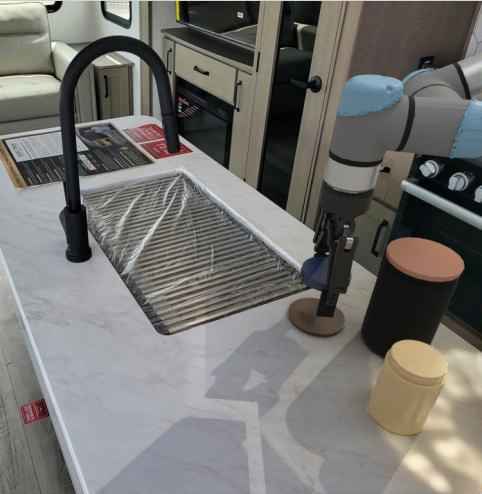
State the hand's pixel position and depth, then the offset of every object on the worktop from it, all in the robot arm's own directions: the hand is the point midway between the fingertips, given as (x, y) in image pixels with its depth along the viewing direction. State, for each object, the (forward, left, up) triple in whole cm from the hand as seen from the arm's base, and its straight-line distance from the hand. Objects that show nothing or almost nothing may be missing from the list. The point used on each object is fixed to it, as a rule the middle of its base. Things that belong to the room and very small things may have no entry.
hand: (319, 298), depth 85 cm
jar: (-8, +20, -4) cm, 22 cm away
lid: (0, 0, +6) cm, 6 cm away
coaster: (0, 0, -4) cm, 4 cm away
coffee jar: (-12, +5, -5) cm, 14 cm away
